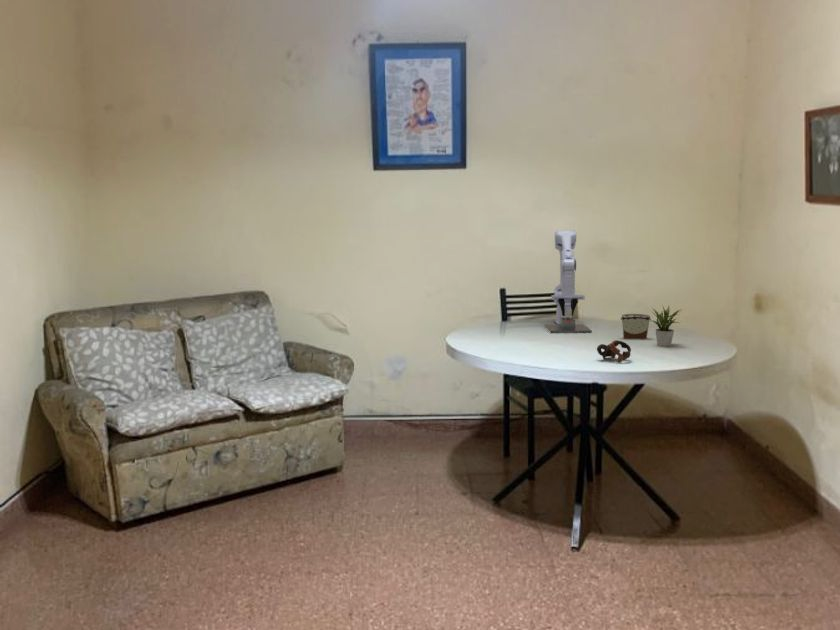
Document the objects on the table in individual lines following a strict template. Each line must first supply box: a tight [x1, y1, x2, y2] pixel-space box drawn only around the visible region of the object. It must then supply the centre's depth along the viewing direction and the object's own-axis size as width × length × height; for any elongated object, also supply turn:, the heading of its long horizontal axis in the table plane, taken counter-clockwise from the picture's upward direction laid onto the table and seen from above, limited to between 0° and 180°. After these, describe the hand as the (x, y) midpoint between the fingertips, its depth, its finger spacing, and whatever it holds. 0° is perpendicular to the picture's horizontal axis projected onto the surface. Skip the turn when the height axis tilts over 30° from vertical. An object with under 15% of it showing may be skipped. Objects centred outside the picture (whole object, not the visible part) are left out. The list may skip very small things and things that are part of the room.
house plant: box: [649, 304, 683, 347], centre depth 296 cm, size 14×14×16 cm
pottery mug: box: [596, 339, 632, 364], centre depth 271 cm, size 12×10×8 cm
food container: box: [620, 313, 652, 340], centre depth 314 cm, size 12×6×10 cm, turn 84°
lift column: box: [563, 308, 573, 319], centre depth 336 cm, size 3×3×8 cm
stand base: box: [543, 317, 592, 334], centre depth 337 cm, size 18×18×6 cm
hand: (567, 315), depth 336 cm, fingers closed on lift column, 3 cm apart
